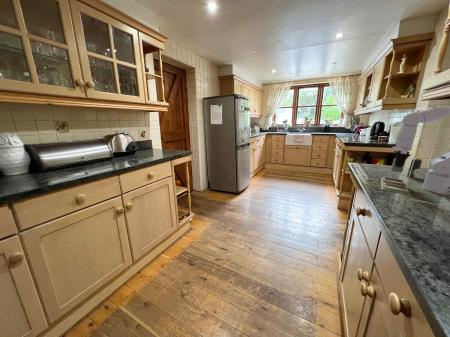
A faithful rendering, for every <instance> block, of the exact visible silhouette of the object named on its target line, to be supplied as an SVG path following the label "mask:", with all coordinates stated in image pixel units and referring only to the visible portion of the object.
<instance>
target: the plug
mask: <svg viewBox="0 0 450 337" xmlns="http://www.w3.org/2000/svg"><path fill="white" fill-rule="evenodd" d="M405 164H406V161H405V162H404V164H403V166H402V167H396V158H395V157H394V158H393V162H392V164H391V168H390V169H391V172H395V173H403V171H404V168H405Z"/></svg>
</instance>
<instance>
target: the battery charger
mask: <svg viewBox="0 0 450 337" xmlns="http://www.w3.org/2000/svg"><path fill="white" fill-rule="evenodd" d="M422 163H423V160H422V159H421V158H417V157H414V158H412V160H411V162H410V165H409V169H408V172H407V175H406V177H407V178H411V179H416V176H415V174H414V173H415V170H420V168H421V167H422Z"/></svg>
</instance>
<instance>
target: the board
mask: <svg viewBox="0 0 450 337" xmlns="http://www.w3.org/2000/svg"><path fill="white" fill-rule="evenodd" d="M380 180H381V183H380V184H381V186H380V187H381V190H384V191H389V192H394V193H399V194H404V195H409V196H410V191H409V189H408V186H407V183H406V181H405V179H400V178H395V177H388V176H383V177H382V178H381V179H380Z"/></svg>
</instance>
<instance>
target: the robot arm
mask: <svg viewBox="0 0 450 337" xmlns="http://www.w3.org/2000/svg"><path fill="white" fill-rule="evenodd" d="M447 115H450V106H443V105H432V106H431V107H429V108H426V109H422V110H420V109H418V110H416V112H414V111H413V112H409V113H407V114H406V115H404V116H403V118H402V120H401V121H402V124H401V128H400V130H399V134H398V138H397V141H396V145H395V146H392V147H391V148H392V149H395V150H393V153H394V156H395V157H394V158H396V167H402V166H403V164H404V162H405V163H406V162H407V161H406V160H408V158H409V157H410V156H411V153H410V151H412V150H413V144H414V141H415V137H416V135H417V131H418V130H417V129H418V126H419V124H420V123H421V124H424V123H430V122H434V121H438V120H442V119H444V118H445V117H446V116H447ZM404 165H405V164H404ZM428 166H429V167H430V169H429V170H427V172H426V176H425V179H424V181H423V183H422V187H421V188H422V189H424V190H426V191H430V192H433V193H436V194H438V195H450V151H449V152H446V153H444V154H442V155H441V156H438V157H435V158H433V159H431V160H430V161H429V165H428Z"/></svg>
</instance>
